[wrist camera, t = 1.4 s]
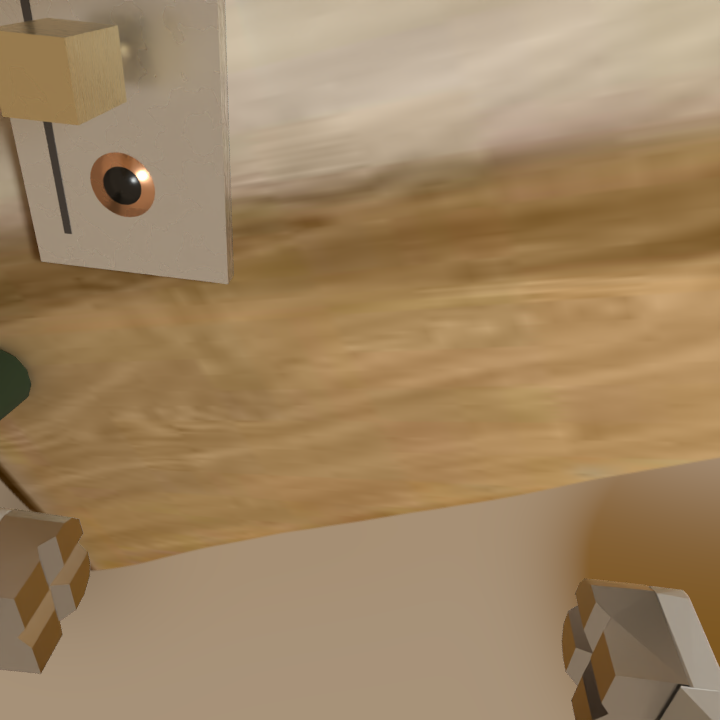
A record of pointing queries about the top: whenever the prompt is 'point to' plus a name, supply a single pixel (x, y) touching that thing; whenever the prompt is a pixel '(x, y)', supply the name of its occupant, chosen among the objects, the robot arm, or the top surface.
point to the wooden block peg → (60, 70)
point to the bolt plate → (138, 147)
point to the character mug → (12, 383)
